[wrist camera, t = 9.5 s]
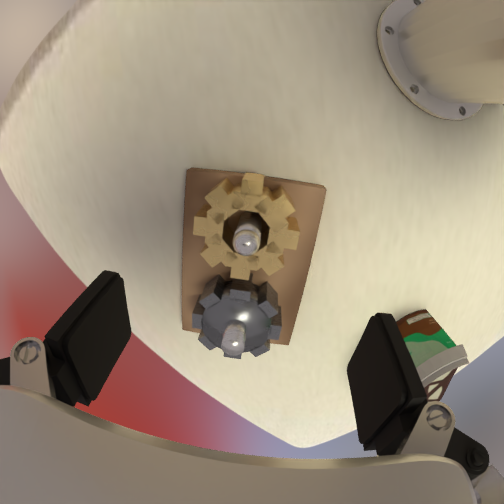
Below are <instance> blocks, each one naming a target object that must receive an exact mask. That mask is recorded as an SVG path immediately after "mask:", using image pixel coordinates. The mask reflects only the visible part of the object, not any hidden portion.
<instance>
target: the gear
mask: <svg viewBox="0 0 504 504" xmlns="http://www.w3.org/2000/svg"><path fill="white" fill-rule="evenodd" d="M252 278H253V273H250V275H249V280H243V279H236V278H233V280H230V281H225V280H224V279H223V278H222V277H221V276H220V274H219V275H217V276H216V277H214V278H213V279H211V280H210V281H208V282H207V283H206V284H205V287H204V290H203V292H202V295H201V294H200V295H199V297H198V300H197V302H196V305H195V307H194V310H193V313H192V328H197V329H201V331H200V335H199V338H198V340H199V341H200V342H201V343H202V344H203V345H204V346H206V347H207V348H208V349H209V350H212V349H213V348H215V347H219V348H221V349H222V350H223V352H224V357H229V358H236V359H241V354H242V353H243V352H249V351H250V352H251V353H252V354H253V355H254V356H255V357H257V356H259V355H261V354H263V353H265V352H267V351H269V350H270V339H272V340H279V336H280V332H281V328H282V316H281V306H278V293H277V292H276V291H275V290H274V288H273V287H272V286H271V285H270V284H269V283H268V281H266V282H265V283H263V284H262V285H260V286H258V285H256V284H254V283H252Z"/></svg>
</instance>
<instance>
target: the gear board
mask: <svg viewBox="0 0 504 504" xmlns="http://www.w3.org/2000/svg"><path fill="white" fill-rule="evenodd" d="M244 175H245V173H238V172H229V171H221V170H211V169H202V168H190V169H188V170H187V173H186V188H185V204H184V224H183V254H182V329H183V330H186V331H192V332H197V333H200V331H201V329H197V328H192V313H193V310H194V307H195V305H196V302H197V300H198V297H199V295H200V294H201V295H202V292H203V290H204V287H205V284H206V283H207V282H208V281H210V280H211V279H213V278H214V277H216V276H217V275H219V274H220V276H221V277H222V278H223V279H224V280H225V281H230V280H233V278H230V275H231V267H228V266H225V265H224V264H223V263H222V262H220V263H218V264H217V265H216V266H214V267H213V268H212V267H211V266H210V265H209V264H208V263H207V262H206V260H205V259H204V258H203V257H202V256H201V255H200V253H201V251H202V249H203V247H204V245H205V236H198V235H193V228H194V216H195V215H196V214H197V212H198V211H199V210H200V209H201V207H202V206H203V205H204V204H205V205H210V204H209V203H208V202H207V201H206V199H205V198H204V197H205V196H206V195H207V194H208V193H209V192H210V191H211V190H212V188H214V187H215V186H216V185H217V184H219V183H220V182H221V181H223V180H224V179H225V178H226V177H227V178H228V179H229V181H230V182H231V183H232V184H233V186H235V185H236V184H238V183H242V179H243V177H244ZM281 185H282V186H283V188H284V189H285V190H286V192H287V193H288V195H289V196H290V197H291V199H292V201H293V204H294V207H295V210H296V211H295V212H293V213H292V214H290V215H289V217H295V218H296V219H297V222H298V226H299V229H300V235H299V240H298V244H297V249H296V250H293V249H286V248H284V250H283V257H284V267H283V268H281V269H280V270H278V271H277V272H275V273H273V274H272V275H270V276H268V275H267V274H266V272H265V271H264V270H263V269H262V268H260V269H259V270H257V271H254V270H250V273H253V278H252V283H254V284H256V285H258V286H260V285H262V284H263V283H265V282H266V281H268V283H269V284H270V285H271V286H272V287H273V288H274V290H275V291H276V292H277V293H278V306H281V316H282V328H281V332H280V336H279V340H272V339H270V343H273V344H283V345H289V342H290V339H291V335H292V332H293V328H294V324H295V321H296V317H297V313H298V310H299V306H300V302H301V298H302V295H303V291H304V287H305V283H306V279H307V275H308V271H309V267H310V263H311V258H312V254H313V250H314V246H315V241H316V237H317V232H318V228H319V223H320V219H321V214H322V209H323V204H324V199H325V195H326V188H325V187H324V186H322V185H317V184H311V183H305V182H300V181H293V180H287V179H281V178H274V177H268V176H264V183H263V186H265V187H269V188H270V190H271V191H274V190H275V189H277V188H278V187H280V186H281ZM243 212H245V210H238V211H236V212H235V213H234V214H232V215H231V216H230V217H229V220H228V224H229V226H230V227H231V228H232V229H233V230H234V232H235V231H236V228H237V225H238V222H239V219H240V216H241V214H242V213H243ZM260 216H261V215H260ZM261 218H262V216H261ZM267 229H268V224H267V223H266V222H265V220H264V219H263V218H262V227H261V234H262V233H263V232H265V231H266V230H267Z"/></svg>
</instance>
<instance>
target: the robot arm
mask: <svg viewBox="0 0 504 504" xmlns="http://www.w3.org/2000/svg"><path fill="white" fill-rule="evenodd" d="M386 32H387V33H388V34H387V33H386ZM377 37H378V46H379V49H380V53H381V57H382V59H383V62H384V64H385V66H386V69H387V71H388V72H389V74H390V75H391V77H392V79H393V81H394V82H395V83H396V85H397V86H398V87H399V88H400V90H401V91H402V92H403V94H405V95H406V96H407V97H408V98H409V99H410V100H411V101H412V102H413V103H414V104H415V105H417V106H418V107H419V108H421V109H422V110H423V111H425V112H427V113H429V114H431V115H433V116H435V117H439V118H442V119H448V120H463V119H466V118H469V117H471V116H473V115H474V114H476V113H477V112H478V111H479V110H480V109H481V107H482V106H483V104H484V103H491V104H503V105H504V0H395V1H393V2H392V3H391V4H390V5H389V6H387V8H386V9H385V10H384V12H383V13H382V14H381V17H380V20H379V22H378V30H377ZM410 88H411V89H412V91H411V89H410ZM130 336H131V326H130V321H129V315H128V309H127V302H126V295H125V288H124V281H123V278H121V277H120V275H119V273H116V272H112V271H107V270H104V271H103V272H102V273H101V274H100V275H99V276H98V277H97V278H96V279H95V280H94V281H93V282H92V283H91V284H90V285H89V286H88V287H87V289H86V290H85V291H84V292H83V293H82V294H81V295H80V296H79V297H78V298H77V299H76V300H75V302H74V303H73V304H72V305H71V306H70V307H69V308H68V309H67V311H66V312H65V313H64V314H63V315H62V317H60V319H59V320H58V321H57V322H56V323H55V324H54V326H53V327H52V328H51V329H50V330H49V331H48V333H47V334H46V335H45V340H44V341H43V342H42V341H41V340H39V339H38V338H34V337H27V338H24V339H21V340H20V341H18V342H17V343H16V344H15V345H14V346H13V348H12V350H11V354H10V357H8V358H4V359H0V504H504V478H503V476H502V475H501V474H500V473H499V472H498V470H497V469H496V468H495V467H494V466H493V465H490V466H488V465H489V455H488V452H487V450H486V448H485V447H484V446H483V445H481V444H480V443H478V442H477V441H475V440H473V439H472V438H470V437H469V436H467V435H465V434H464V433H462V432H461V431H459V430H458V429H456V428H455V427H454V426H455V416H454V414H453V412H452V410H451V409H450V408H449V407H448V406H447V405H446V404H444V403H442V402H439V401H432V402H429V403H428V401H427V399H426V398H427V395H426V392H425V389H424V387H423V384H422V382H421V379H420V377H419V374H418V372H417V369H416V367H415V364H414V362H413V360H412V357H411V355H410V353H409V350H408V348H407V346H406V344H405V341H404V339H403V337H402V335H401V332H400V330H399V328H398V326H397V324H396V322H395V320H394V318H393V316H392V314H387V313H376V314H375V316H372V317H371V318H370V320H369V322H368V324H367V326H366V329H365V331H364V333H363V335H362V337H361V339H360V341H359V344H358V346H357V348H356V350H355V352H354V354H353V356H352V358H351V360H350V362H349V364H348V367H347V375H348V380H349V385H350V390H351V395H352V401H353V407H354V412H355V418H356V424H357V430H358V437H359V442H360V443H361V444H363V447H364V451H367V450H376V452H377V456H376V457H364V458H344V459H291V458H274V457H262V456H253V455H244V454H236V453H229V452H223V451H217V450H211V449H205V448H200V447H196V446H191V445H187V444H182V443H177V442H174V441H170V440H166V439H162V438H158V437H155V436H151V435H148V434H145V433H141V432H138V431H135V430H132V429H129V428H126V427H123V426H120V425H117V424H115V423H112V422H109V421H106V420H104V419H101V418H98V417H96V416H94V415H91V414H89V413H86V412H84V411H81V410H79V409H77V408H75V407H74V406H75V404H76V402H79V403H82V404H84V405H86V406H89V404H90V403H91V401H92V400H93V401H94V400H95V399H96V398H97V396H98V395H99V393H100V391H101V389H102V387H103V385H104V383H105V382H106V380H107V378H108V376H109V374H110V372H111V371H112V369H113V367H114V365H115V363H116V362H117V360H118V358H119V356H120V355H121V353H122V351H123V349H124V348H125V346H126V344H127V342H128V341H129V339H130Z"/></svg>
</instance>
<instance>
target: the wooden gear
mask: <svg viewBox="0 0 504 504" xmlns="http://www.w3.org/2000/svg"><path fill="white" fill-rule="evenodd" d="M263 183H264V175H262V174H255V173H248V172H246V173H245V175H244V177H243V179H242V183H238V184H236V185H235V186H233V184H232V183H231V182H230V181H229V179H228V178H227V177H226V178H225V179H224V180H223V181H221V182H220V183H219V184H217V185H216V186H215V187H214V188H212V190H211V191H210V192H209V193H208V194H207V195H206V196H205V197H204V198H205V199H206V201H207V202H208V203H209V204H210V205H205V204H204V205H203V206H202V207H201V209H200V210H199V211H198V212H197V214H196V215H195V216H194V228H193V235H198V236H205V245H204V247H203V249H202V251H201V253H200V255H201V256H202V257H203V258H204V259H205V260H206V262H207V263H208V264H209V265H210V266H211V267H212V268H213V267H214V266H216V265H217V264H218V263H220V262H222V263H223V264H224V265H225V266H228V267H231V275H230V278H236V279H243V280H249V275H250V270H254V271H257V270H259V269H260V268H262V269H263V270H264V271H265V272H266V274H267V275H268V276H270V275H272V274H273V273H275V272H277V271H278V270H280V269H281V268H283V267H284V257H283V250H284V248H286V249H293V250H296V249H297V244H298V240H299V235H300V229H299V226H298V222H297V219H296V218H295V217H289V215H290V214H292V213H293V212H295V211H296V210H295V207H294V204H293V201H292V199H291V197H290V196H289V195H288V193H287V192H286V190H285V189H284V188H283V186H282V185H281V186H280V187H278V188H277V189H275V190H274V191H271V190H270V188H269V187H265V186H263ZM238 210H245V211H252V212H258V213H259V214H260V215H261V216H262V218H263V219H264V220H265V222H266V223H267V224H268V229H267V230H266V231H265V232H263V233H262V234H261V240H260V247H259V249H258V251H257V252H256V253H255V254H253V255H251V256H242V255H240V254H238V253H237V252H236V251H235V249H234V247H233V238H234V234H235V232H234V230H233V229H232V228H231V227H230V226H229V224H228V220H229V217H230V216H231V215H232V214H234V213H235V212H236V211H238Z"/></svg>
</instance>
